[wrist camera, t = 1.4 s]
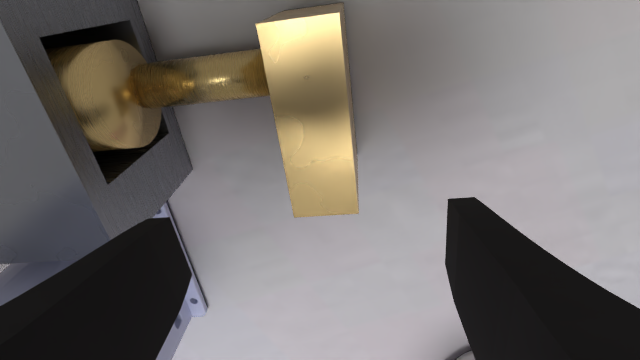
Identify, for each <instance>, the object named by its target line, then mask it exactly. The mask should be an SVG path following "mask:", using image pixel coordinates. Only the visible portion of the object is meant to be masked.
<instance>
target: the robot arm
mask: <svg viewBox="0 0 640 360" xmlns="http://www.w3.org/2000/svg"><path fill="white" fill-rule="evenodd" d="M445 265H446V269H447V274H448V278H449V283H450V287H451V291H452V295H453V299H454V303H455V306H456V308H457V311H458V314H459V317H460V320H461V322H462V325H463V328H464V331H465V333H466V336H467V339H468V341H469V344H470V347H471V350H472V352H473V355H474V358H475V360H640V309H639V308H637V307H636V306H634V305H632V304H630V303H628V302H627V301H625V300H623V299H621V298H620V297H618V296H616V295H614V294H613V293H611V292H609V291H607V290H606V289H604V288H602V287H601V286H599V285H597V284H596V283H594V282H593V281H591V280H589V279H588V278H586V277H585V276H583V275H582V274H580V273H578V272H577V271H575V270H574V269H572V268H571V267H569V266H568V265H566V264H565V263H563V262H562V261H560V260H559V259H557V258H556V257H554V256H553V255H551V254H550V253H548V252H547V251H545V250H544V249H543V248H541V247H540V246H538V245H537V244H536V243H534V242H533V241H531V240H530V239H529V238H527V237H526V236H525V235H523V234H522V233H521V232H519V231H518V230H517V229H515V228H514V227H513V226H511V225H510V224H509V223H507V222H506V221H505V220H504V219H502V218H501V217H500V216H498V215H497V214H496V213H495V212H493V211H492V210H491V209H489V208H488V207H487V206H486V205H484V204H483V203H482V202H480V201H479V200H478V199H476V198H475V197H470V198H455V199H448V211H447V235H446V259H445ZM194 298H195V299H194ZM206 312H207V306H206V303H205V301H204V298H203V296H202V293H201V290H200V288H199V285H198V283H197V280H196V278H195V275H194V272H193V270H192V267H191V265H190V262H189V260H188V257H187V254H186V252H185V249H184V247H183V244H182V242H181V239H180V236H179V234H178V231H177V229H176V226H175V224H174V221H173V218H172V216H171V213H170V211H169V208H168V206H167V203H165V204H164V205H163V206H162V207H161V210H159V211H158V212H157V213H156V215H155V216H154V217H153V218H148V219H146V220H144V221H142V222H140V223H138V224H137V225H135V226H133V227H131V228H130V229H128V230H126V231H124V232H123V233H121V234H119V235H118V236H116V237H115V238H113V239H111V240H110V241H108V242H107V243H105V244H103V245H102V246H100V247H99V248H97V249H95V250H94V251H92V252H91V253H89V254H87V255H86V256H84V257H83V258H81V259H79V260H68V261H48V262H29V263H11V264H10V265H9V266H8V267H7V268H6V269H4V270H3V271H2V272H1V273H0V360H172V358H173V355H174V353H175V351H176V349H177V347H178V345H179V343H180V341H181V339H182V337H183V334H184V332H185V330H186V328H187V326H188V324H189V322H190V320H191V318H192V317H202V316H204V315H205V314H206Z"/></svg>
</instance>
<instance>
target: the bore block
mask: <svg viewBox="0 0 640 360" xmlns="http://www.w3.org/2000/svg"><path fill="white" fill-rule="evenodd" d="M109 40H121V41H124V42H126V43H128V44H130V45H131V46H133V47H134V48H135V49H136V50H137V51H138V52H139V53H140V54H141V55H142V56H143V58H144V59H145V60H146V62H147V63H151V62H157V61H156V58H155V55H154V52H153V49H152V46H151V43H150V40H149V37H148V34H147V31H146V28H145V25H144V21H143V18H142V15H141V12H140V9H139V6H138V3H137V0H0V264H9V263H29V262H48V261H68V260H79V259H81V258H83V257H84V256H86V255H87V254H89V253H91V252H92V251H94V250H95V249H97V248H99V247H100V246H102V245H103V244H105V243H107V242H108V241H110V240H111V239H113V238H115V237H116V236H118V235H119V234H121V233H123V232H124V231H126V230H128V229H130V228H131V227H133V226H135V225H137V224H138V223H140V222H142V221H144V220H146V219H148V218H153V217H154V216H155V215H156V213H157V212H158V211H159V210H160V209H161V207H162V206H163V205H164V204H165V203H166V201H167V200H168V199H169V198H170V197H171V195H172V194H173V193H174V192H175V191H176V189H177V188H178V187H179V186H180V185H181V183H182V182H183V181H184V180H185V179H186V177H187V176H188V175H189V174H190V173H191V171H192V170H193V169H192V166H191V163H190V160H189V157H188V154H187V151H186V148H185V145H184V142H183V139H182V136H181V133H180V130H179V127H178V124H177V121H176V118H175V115H174V112H173V109H172V106H170V107H161V121H160V126H159V130H158V132H157V135H156V136H155V138H154V139H153V141H152V142H151V143H150V144H148V145H146V146H144V147H139V148H128V149H117V150H107V151H96V152H92V150H91V148H90V146H89V144H88V141H87V139H86V137H85V135H84V133H83V131H82V129H81V126H80V124H79V122H78V120H77V118H76V116H75V114H74V111H73V109H72V107H71V105H70V103H69V101H68V99H67V96H66V94H65V92H64V90H63V88H62V86H61V84H60V81H59V79H58V77H57V75H56V73H55V71H54V69H53V66H52V64H51V62H50V60H49V58H48V56H47V53H46V51H45V49H51V48H58V47H65V46H72V45H80V44H87V43H94V42H101V41H109Z"/></svg>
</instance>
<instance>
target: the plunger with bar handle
mask: <svg viewBox="0 0 640 360" xmlns="http://www.w3.org/2000/svg"><path fill="white" fill-rule="evenodd" d="M256 27H257V33H258V38H259V43H260V48H261V49H254V50H246V51H238V52H230V53H222V54H214V55H207V56H199V57H191V58H183V59H175V60H167V61H159V62H151V63H147V62H146V60H145V59H144V58H143V56H142V55H141V54H140V53H139V52H138V51H137V50H136V49H135V48H134V47H133V46H131V45H130V44H128V43H126V42H124V41H121V40H109V41H101V42H94V43H87V44H80V45H72V46H65V47H58V48H51V49H45V51H46V53H47V56H48V58H49V60H50V62H51V64H52V66H53V69H54V71H55V73H56V75H57V77H58V79H59V81H60V84H61V86H62V88H63V90H64V92H65V94H66V96H67V99H68V101H69V103H70V105H71V107H72V109H73V111H74V114H75V116H76V118H77V120H78V122H79V124H80V126H81V129H82V131H83V133H84V135H85V137H86V139H87V141H88V144H89V146H90V148H91V150H92V152H96V151H107V150H117V149H128V148H139V147H144V146H146V145H148V144H150V143H151V142H152V141H153V139H154V138H155V136H156V135H157V132H158V130H159V126H160V121H161V107H170V106H179V105H188V104H198V103H207V102H216V101H225V100H234V99H243V98H253V97H262V96H270V98H271V103H272V108H273V113H274V118H275V123H276V128H277V134H278V139H279V144H280V149H281V154H282V159H283V164H284V169H285V174H286V179H287V184H288V189H289V194H290V199H291V204H292V209H293V214H294V218H295V217H311V216H326V215H342V214H358V213H359V205H358V158H357V147H356V136H355V125H354V114H353V103H352V92H351V81H350V70H349V59H348V48H347V37H346V26H345V15H344V4H343V3H336V4H329V5H322V6H315V7H307V8H300V9H293V10H286V11H282V12H280V13H278V14H276V15H273V16H271V17H269V18H267V19H265V20H263V21H261V22H259V23H257V24H256Z"/></svg>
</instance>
